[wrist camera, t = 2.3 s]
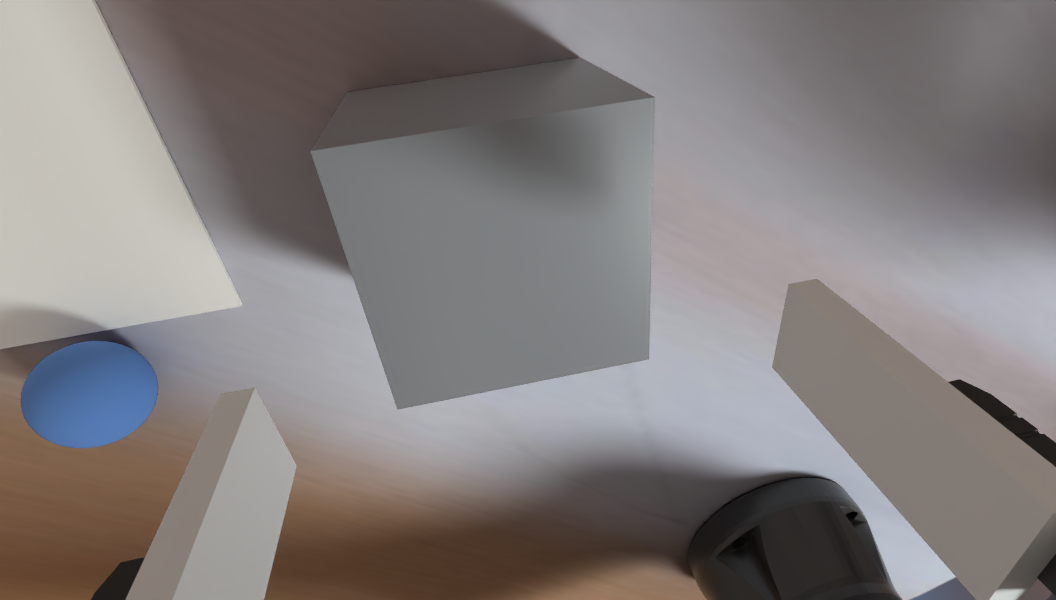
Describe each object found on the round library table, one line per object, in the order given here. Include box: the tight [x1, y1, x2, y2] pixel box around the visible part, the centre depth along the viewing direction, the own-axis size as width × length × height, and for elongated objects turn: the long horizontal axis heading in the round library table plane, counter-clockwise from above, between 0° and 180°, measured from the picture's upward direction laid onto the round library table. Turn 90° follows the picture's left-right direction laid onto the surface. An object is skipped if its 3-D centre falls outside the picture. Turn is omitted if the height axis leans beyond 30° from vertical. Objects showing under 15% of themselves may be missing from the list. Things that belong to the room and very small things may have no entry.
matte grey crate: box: [310, 58, 655, 409], centre depth 22 cm, size 10×10×9 cm
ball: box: [21, 341, 158, 448], centre depth 25 cm, size 5×5×5 cm
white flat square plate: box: [0, 0, 243, 349], centre depth 22 cm, size 14×14×1 cm
